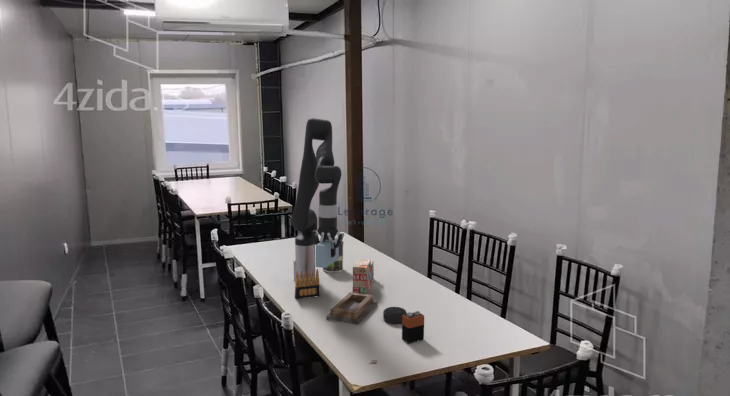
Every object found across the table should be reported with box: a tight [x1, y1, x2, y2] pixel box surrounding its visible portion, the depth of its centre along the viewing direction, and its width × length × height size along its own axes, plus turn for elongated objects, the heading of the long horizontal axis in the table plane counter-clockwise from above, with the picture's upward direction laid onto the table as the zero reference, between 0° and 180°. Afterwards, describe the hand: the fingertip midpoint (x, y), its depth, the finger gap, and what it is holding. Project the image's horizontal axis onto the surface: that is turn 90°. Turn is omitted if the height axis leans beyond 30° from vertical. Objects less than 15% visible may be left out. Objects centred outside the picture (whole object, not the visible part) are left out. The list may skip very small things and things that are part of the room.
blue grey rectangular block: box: [315, 237, 339, 269], centre depth 224 cm, size 4×14×9 cm, turn 160°
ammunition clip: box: [294, 268, 321, 300], centre depth 233 cm, size 11×2×12 cm, turn 112°
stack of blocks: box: [352, 258, 375, 295], centre depth 248 cm, size 21×6×12 cm, turn 171°
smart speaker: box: [382, 306, 408, 325], centre depth 210 cm, size 9×9×4 cm
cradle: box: [326, 291, 378, 325], centre depth 217 cm, size 13×22×4 cm, turn 160°
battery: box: [401, 310, 425, 344], centre depth 192 cm, size 4×7×10 cm, turn 121°
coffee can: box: [322, 240, 344, 273], centre depth 272 cm, size 10×10×14 cm
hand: (327, 256), depth 224 cm, fingers closed on blue grey rectangular block, 4 cm apart
